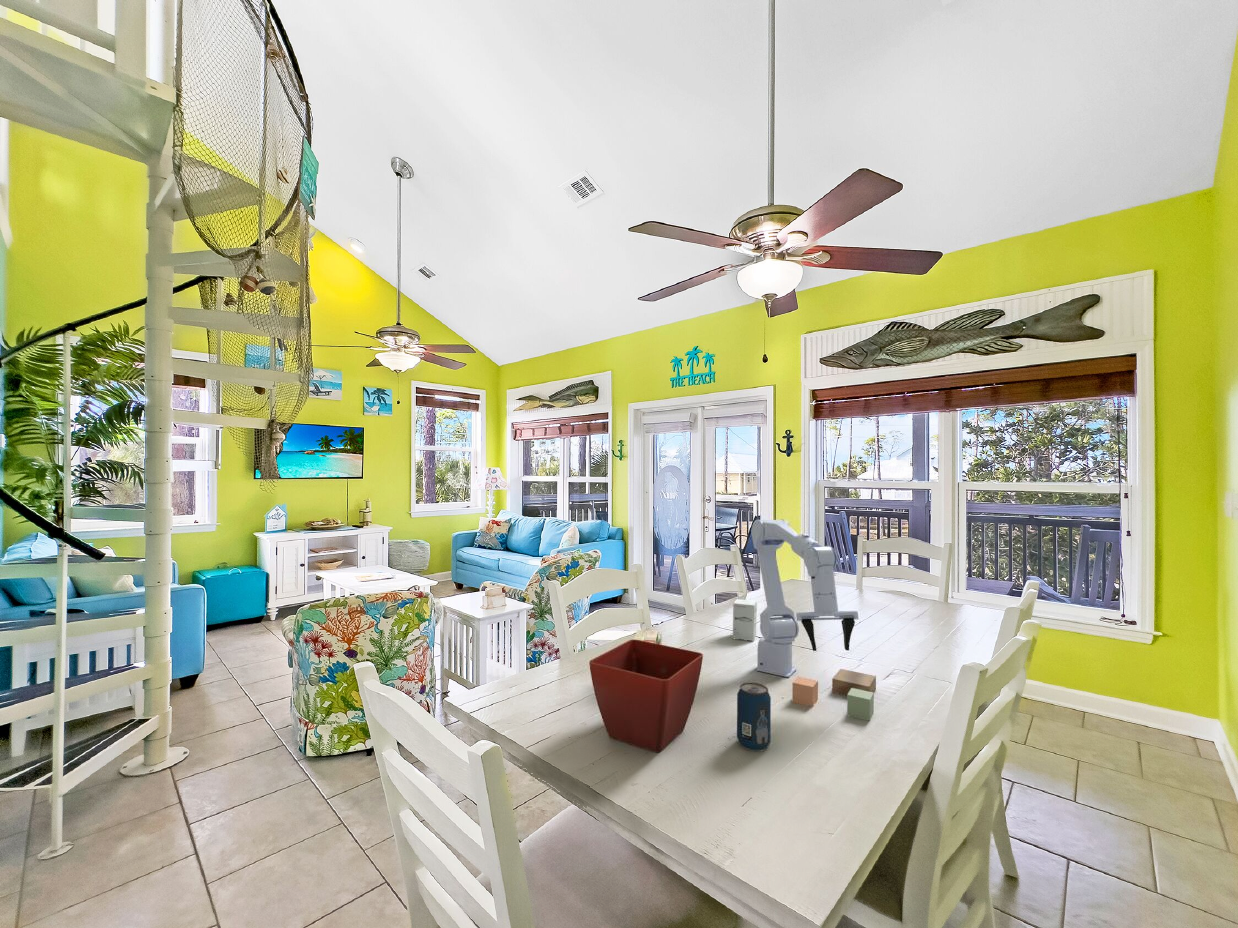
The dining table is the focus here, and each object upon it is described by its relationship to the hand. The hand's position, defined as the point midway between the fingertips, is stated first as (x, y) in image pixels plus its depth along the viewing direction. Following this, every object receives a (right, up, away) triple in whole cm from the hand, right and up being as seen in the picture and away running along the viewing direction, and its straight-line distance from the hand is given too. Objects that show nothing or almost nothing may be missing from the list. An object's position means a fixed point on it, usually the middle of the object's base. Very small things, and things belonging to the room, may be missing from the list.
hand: (830, 650), depth 136 cm
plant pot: (-47, -13, -16) cm, 51 cm away
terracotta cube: (-6, -14, +2) cm, 15 cm away
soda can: (-24, -13, -20) cm, 34 cm away
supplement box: (-9, -15, +55) cm, 57 cm away
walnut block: (+10, -14, +9) cm, 19 cm away
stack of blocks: (-45, -14, +19) cm, 51 cm away
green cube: (+5, -14, -5) cm, 16 cm away
